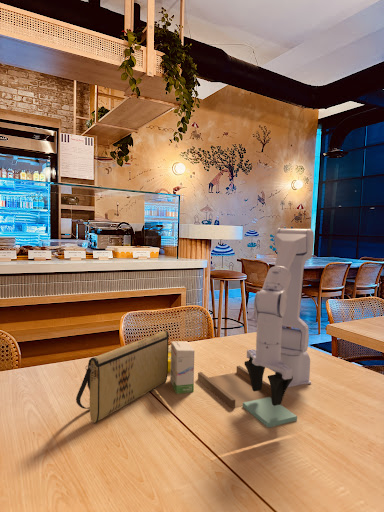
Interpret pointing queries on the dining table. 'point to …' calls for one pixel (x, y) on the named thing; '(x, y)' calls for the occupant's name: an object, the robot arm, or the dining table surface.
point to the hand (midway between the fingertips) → (266, 397)
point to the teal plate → (269, 412)
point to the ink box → (182, 367)
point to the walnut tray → (234, 387)
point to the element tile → (169, 358)
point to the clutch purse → (125, 374)
